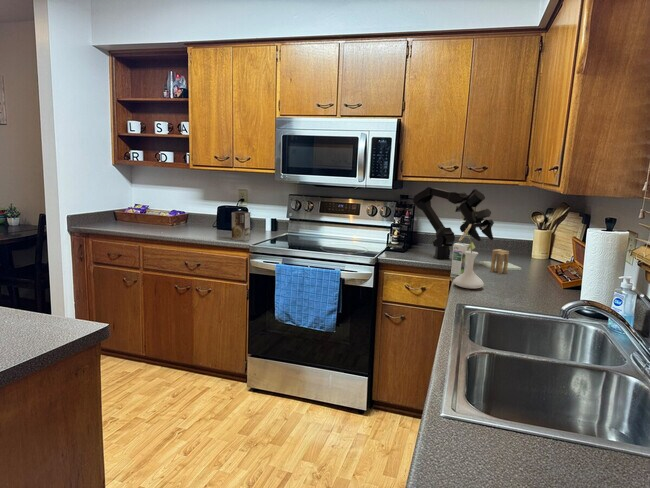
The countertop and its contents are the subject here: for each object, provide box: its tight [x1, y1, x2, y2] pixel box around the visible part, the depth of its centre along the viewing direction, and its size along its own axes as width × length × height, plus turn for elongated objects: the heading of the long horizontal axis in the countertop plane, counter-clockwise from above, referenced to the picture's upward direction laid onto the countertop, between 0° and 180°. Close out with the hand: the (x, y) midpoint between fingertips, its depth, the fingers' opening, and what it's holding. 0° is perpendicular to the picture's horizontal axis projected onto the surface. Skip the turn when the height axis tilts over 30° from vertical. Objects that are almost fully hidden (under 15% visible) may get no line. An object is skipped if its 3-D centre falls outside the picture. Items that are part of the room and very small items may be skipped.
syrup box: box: [450, 242, 471, 279], centre depth 193 cm, size 6×6×14 cm
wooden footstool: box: [490, 248, 510, 275], centre depth 207 cm, size 5×5×10 cm
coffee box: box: [231, 211, 251, 242], centre depth 265 cm, size 9×6×16 cm
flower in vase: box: [453, 224, 485, 290], centre depth 176 cm, size 13×11×25 cm
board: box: [478, 260, 523, 271], centre depth 220 cm, size 14×14×1 cm
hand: (486, 240), depth 212 cm, fingers open, 9 cm apart
